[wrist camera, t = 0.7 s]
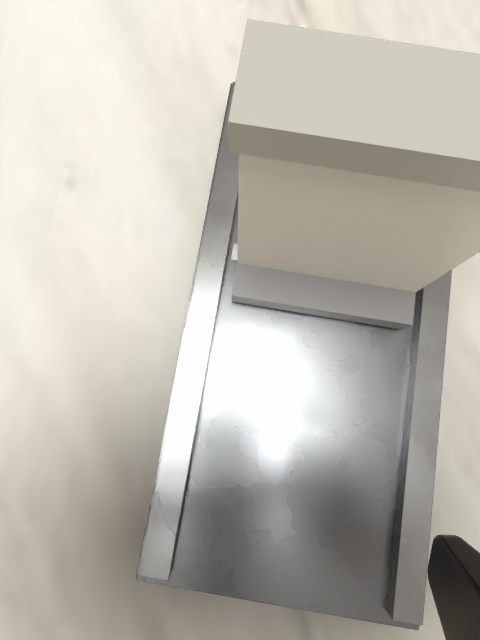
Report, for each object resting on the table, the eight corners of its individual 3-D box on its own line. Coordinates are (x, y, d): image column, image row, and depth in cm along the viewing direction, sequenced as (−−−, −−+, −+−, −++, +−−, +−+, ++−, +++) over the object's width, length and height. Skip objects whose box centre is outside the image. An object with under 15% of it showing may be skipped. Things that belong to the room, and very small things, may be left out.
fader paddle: (406, 330, 21) (619, 236, 9) (227, 300, 21) (218, 172, 10) (417, 229, 22) (622, 29, 10) (244, 201, 22) (255, -26, 11)
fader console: (401, 609, 21) (426, 639, 18) (144, 564, 21) (131, 587, 19) (443, 141, 25) (469, 109, 23) (231, 108, 26) (230, 72, 23)
